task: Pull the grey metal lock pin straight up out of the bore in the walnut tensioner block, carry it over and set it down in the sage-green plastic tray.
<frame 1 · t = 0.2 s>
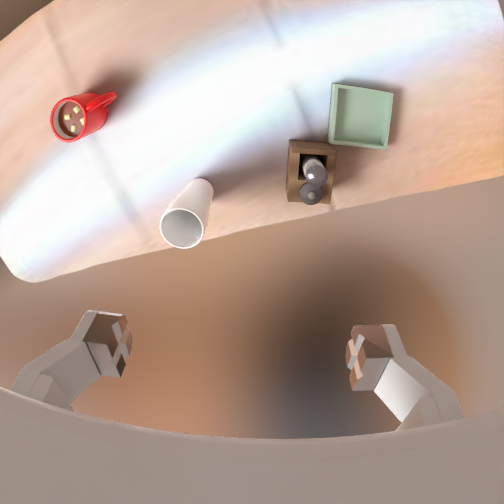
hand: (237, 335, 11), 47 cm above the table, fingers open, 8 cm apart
mug: (98, 106, 50), on the table
lock pin: (307, 157, 54), resting in tensioner block
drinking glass: (200, 190, 58), on the table
tensioner block: (307, 165, 55), on the table
tray: (358, 115, 50), on the table
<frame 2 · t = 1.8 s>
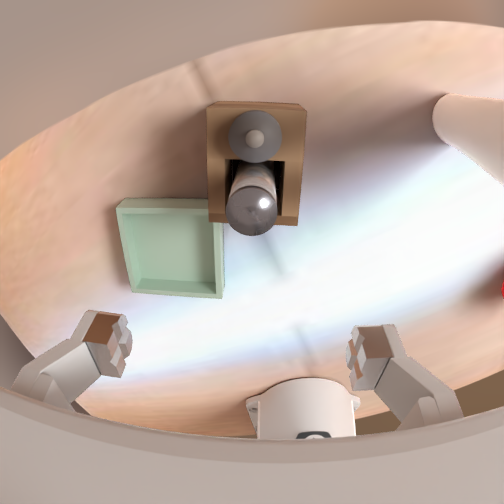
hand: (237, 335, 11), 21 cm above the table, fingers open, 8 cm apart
lock pin: (256, 166, 29), resting in tensioner block
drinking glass: (450, 118, 25), on the table
tensioner block: (256, 150, 28), on the table
tray: (175, 243, 34), on the table
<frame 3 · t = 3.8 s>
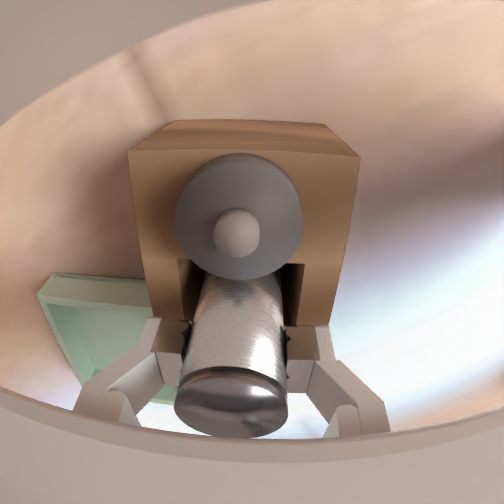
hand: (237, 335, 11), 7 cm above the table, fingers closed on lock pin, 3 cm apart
lock pin: (247, 233, 17), resting in tensioner block, touching gripper
tensioner block: (247, 207, 16), on the table
tray: (131, 334, 22), on the table
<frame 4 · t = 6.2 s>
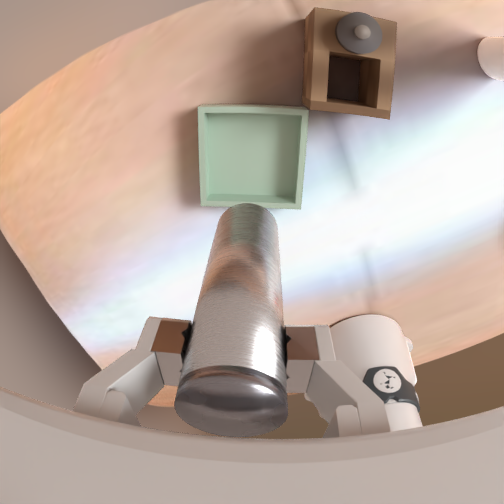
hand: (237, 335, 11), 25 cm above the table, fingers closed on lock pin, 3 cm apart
lock pin: (247, 230, 17), point 18 cm above the table, touching gripper
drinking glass: (490, 57, 24), on the table
tensioner block: (338, 63, 27), on the table
tray: (252, 152, 32), on the table
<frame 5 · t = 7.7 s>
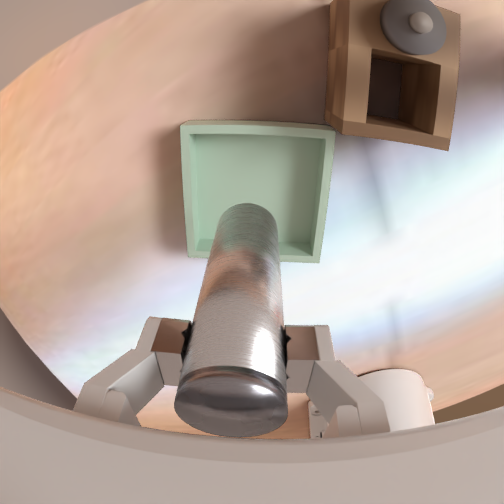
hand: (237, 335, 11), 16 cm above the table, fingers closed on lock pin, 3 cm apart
lock pin: (247, 230, 17), point 8 cm above the table, touching gripper
tensioner block: (374, 67, 19), on the table
tray: (256, 186, 25), on the table
when the fingers open (9 cm above the table, at t = 9.1 s): lock pin stays where it is, resting on tray.
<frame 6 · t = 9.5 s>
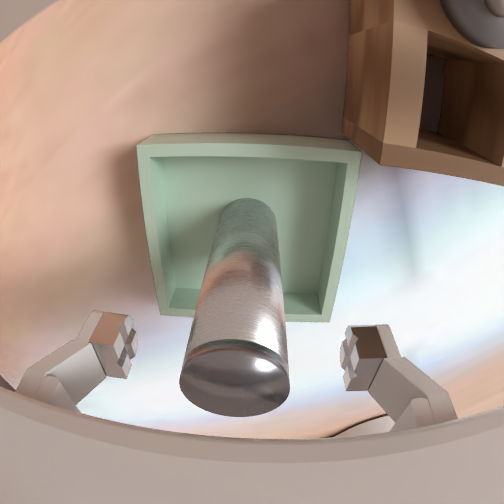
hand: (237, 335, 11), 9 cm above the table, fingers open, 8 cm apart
lock pin: (247, 225, 18), point 1 cm above the table, touching tray
tensioner block: (411, 61, 13), on the table
tray: (247, 222, 18), on the table
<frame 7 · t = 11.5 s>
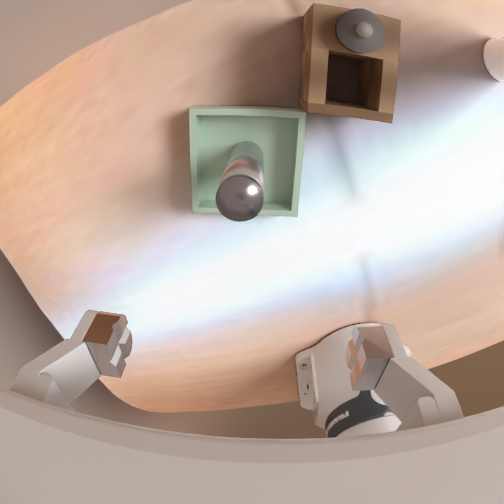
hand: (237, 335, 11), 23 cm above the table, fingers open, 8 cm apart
lock pin: (246, 157, 30), point 1 cm above the table, touching tray
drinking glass: (496, 59, 23), on the table
tensioner block: (338, 63, 26), on the table
tray: (246, 156, 31), on the table
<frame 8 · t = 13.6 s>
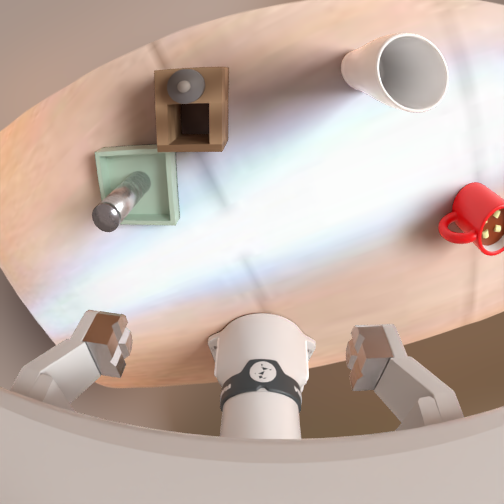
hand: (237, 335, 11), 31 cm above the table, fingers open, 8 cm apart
mug: (461, 209, 41), on the table
lock pin: (139, 182, 40), point 1 cm above the table, touching tray
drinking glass: (360, 70, 32), on the table
tensioner block: (199, 104, 35), on the table
tray: (140, 181, 41), on the table
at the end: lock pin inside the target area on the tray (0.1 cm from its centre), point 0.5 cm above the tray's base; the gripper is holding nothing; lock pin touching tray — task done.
